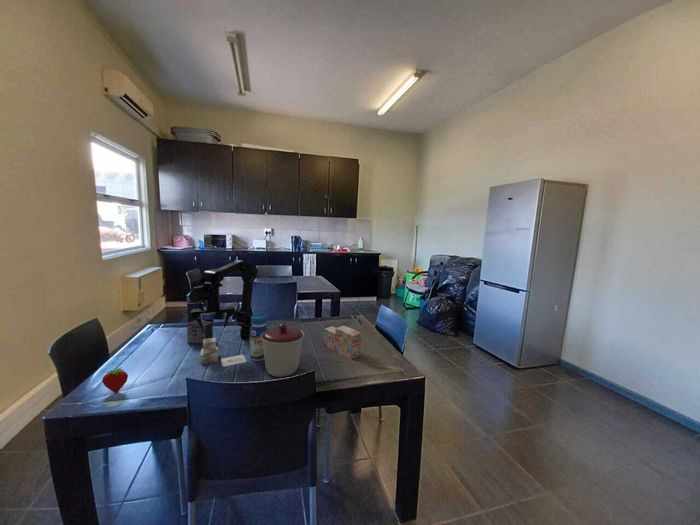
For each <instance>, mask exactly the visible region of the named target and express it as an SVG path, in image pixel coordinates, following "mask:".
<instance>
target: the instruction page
mask: <svg viewBox="0 0 700 525" xmlns="http://www.w3.org/2000/svg"><path fill="white" fill-rule="evenodd" d="M220 361H221V362H220V363H221V365H222V367H223V368H225V367H229V366H235V365H240V364H245V363H247V362H248V361H247V359H246V357H245V355H244V354H239V355H235V356H234V355H233V356H229V357H223V358H220Z"/></svg>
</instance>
